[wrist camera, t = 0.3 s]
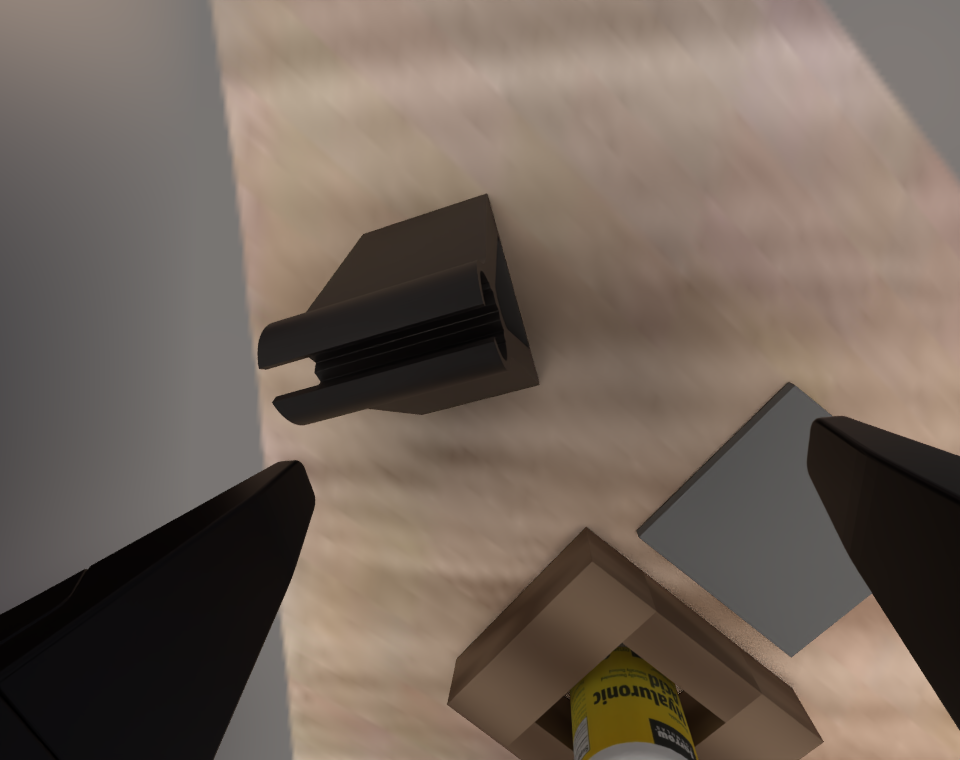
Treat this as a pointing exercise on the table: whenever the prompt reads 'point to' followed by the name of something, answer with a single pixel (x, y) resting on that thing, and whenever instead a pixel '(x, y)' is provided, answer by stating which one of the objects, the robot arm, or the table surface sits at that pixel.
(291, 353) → the phone stand
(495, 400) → the table surface
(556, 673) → the pocket holder
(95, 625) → the robot arm
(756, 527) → the coaster
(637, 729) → the supplement bottle
